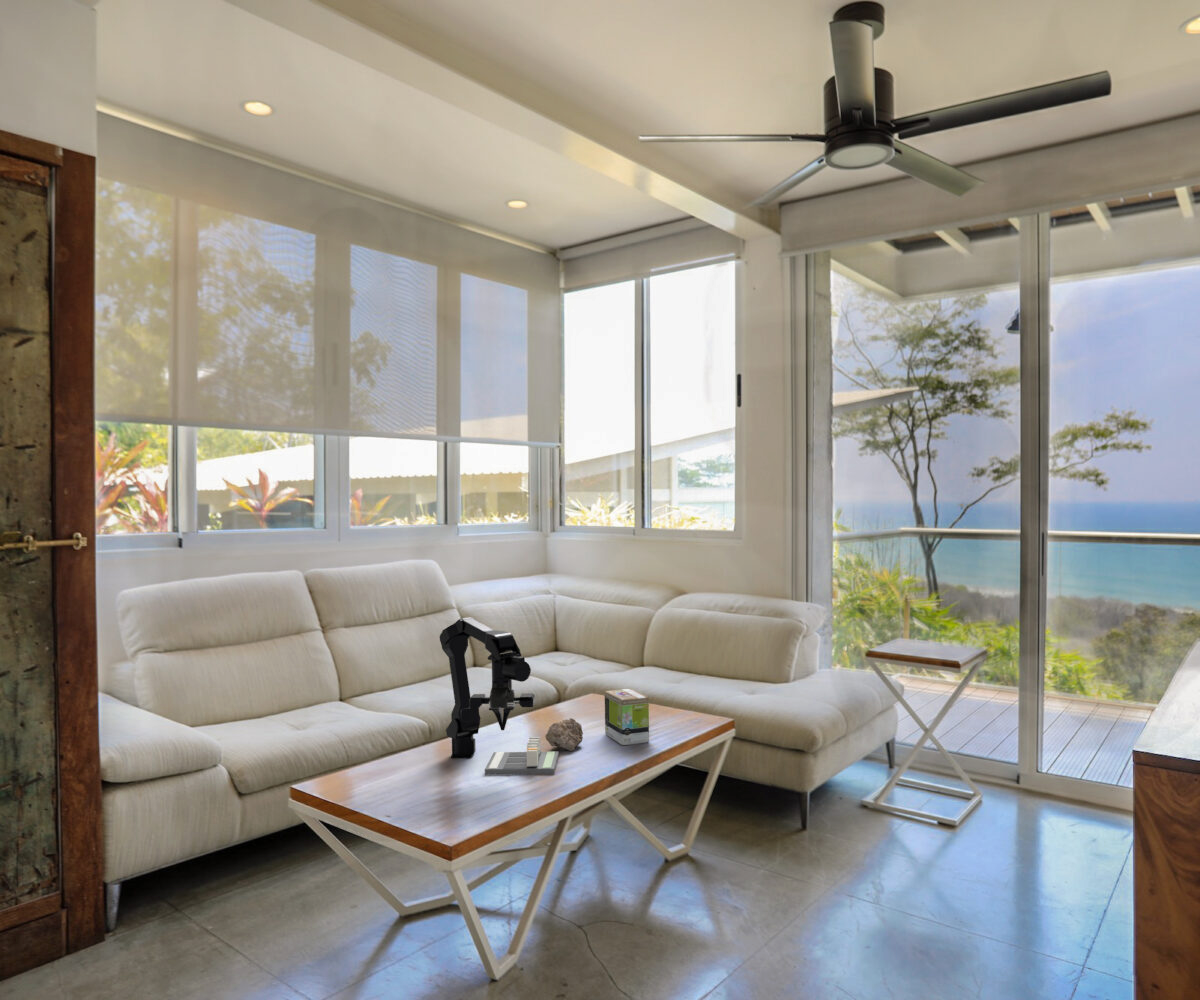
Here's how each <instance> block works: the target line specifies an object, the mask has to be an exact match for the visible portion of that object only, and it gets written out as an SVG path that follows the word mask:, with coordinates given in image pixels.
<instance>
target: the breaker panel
mask: <svg viewBox="0 0 1200 1000" xmlns="http://www.w3.org/2000/svg"><path fill="white" fill-rule="evenodd" d="M559 754H560V753H559V751H540V754H538V765H537V766H527V751H499V752H498V751H496V752H494V751H493V753H492V754H491V757H490V759H489V761H488V762H487V765H486V766H485V768H484V775H486V776H487V775H490V776H491V775H551V774H552V775H553V774H554V775H555V771H556V768H557V765H558V760H559V756H560V755H559Z"/></svg>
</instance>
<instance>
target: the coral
mask: <svg viewBox="0 0 1200 1000" xmlns="http://www.w3.org/2000/svg"><path fill="white" fill-rule="evenodd" d="M583 734H584V732H583V728H582V724H581V723H579V722H578V721H576V719H574V718H569V719H567V718H566V719H562V721H559V722H555V723H552V724H551V725H550V727H549V728H548V730H547V733H546V734H545V736H544V737H545V740H546V741H547V742H548V743H549V745H550V746H551V747H557V748H559V747H562V748H563V749H565V750H567V751H569V752H573V751H575V748H576V747H578V746H579V745H580V744H581V743H582V742H583V739H584V737H583Z"/></svg>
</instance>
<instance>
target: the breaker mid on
mask: <svg viewBox="0 0 1200 1000" xmlns="http://www.w3.org/2000/svg"><path fill="white" fill-rule="evenodd" d="M527 748H538V742H529V741H528V742H527V744H526V749H527Z"/></svg>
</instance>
